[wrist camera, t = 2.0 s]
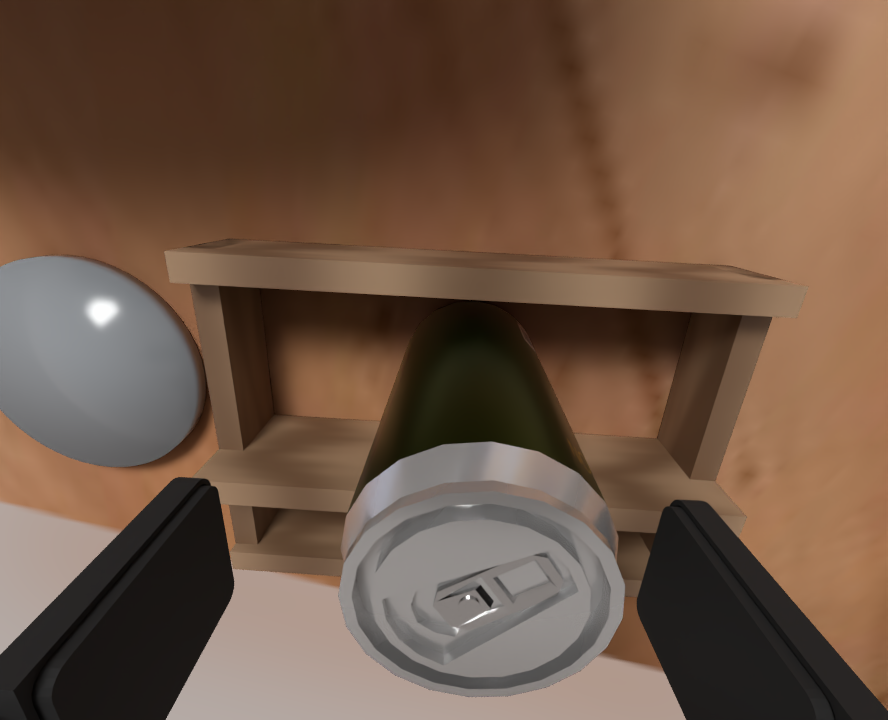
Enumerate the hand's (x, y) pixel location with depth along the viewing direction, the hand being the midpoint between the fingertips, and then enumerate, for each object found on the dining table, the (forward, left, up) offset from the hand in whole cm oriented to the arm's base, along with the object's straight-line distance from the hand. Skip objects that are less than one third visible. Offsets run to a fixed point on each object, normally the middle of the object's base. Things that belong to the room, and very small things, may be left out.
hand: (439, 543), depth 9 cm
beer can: (-1, 0, -11) cm, 11 cm away
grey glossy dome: (+16, +1, -10) cm, 19 cm away
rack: (-1, +3, -10) cm, 11 cm away
